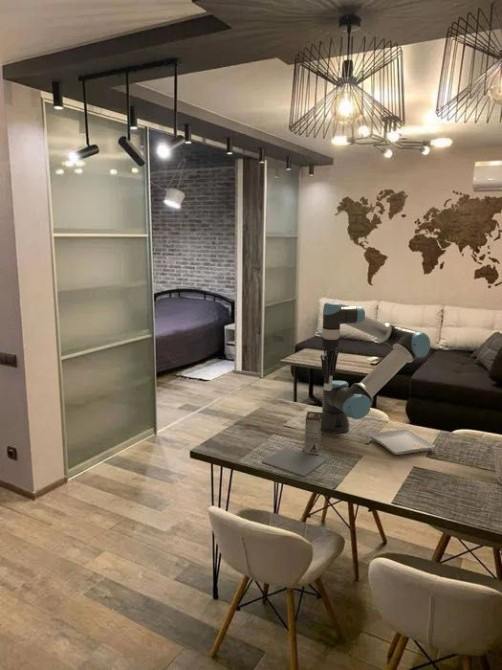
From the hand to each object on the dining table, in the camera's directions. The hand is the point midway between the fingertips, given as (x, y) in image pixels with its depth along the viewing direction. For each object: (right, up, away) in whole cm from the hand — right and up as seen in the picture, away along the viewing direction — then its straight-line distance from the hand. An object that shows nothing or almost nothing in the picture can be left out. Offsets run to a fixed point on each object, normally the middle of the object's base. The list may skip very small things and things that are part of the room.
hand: (327, 389), depth 224 cm
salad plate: (+33, -26, +2) cm, 42 cm away
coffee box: (-8, -26, -5) cm, 27 cm away
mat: (-16, -28, -17) cm, 36 cm away
